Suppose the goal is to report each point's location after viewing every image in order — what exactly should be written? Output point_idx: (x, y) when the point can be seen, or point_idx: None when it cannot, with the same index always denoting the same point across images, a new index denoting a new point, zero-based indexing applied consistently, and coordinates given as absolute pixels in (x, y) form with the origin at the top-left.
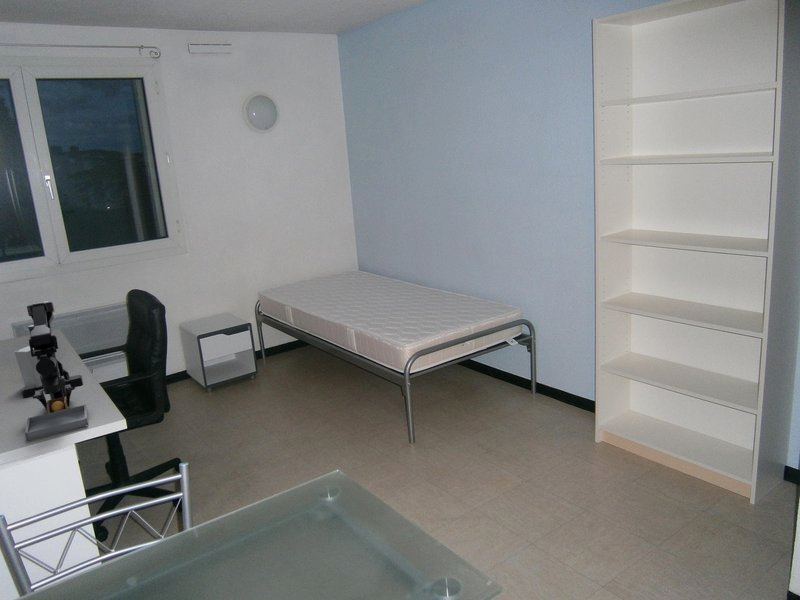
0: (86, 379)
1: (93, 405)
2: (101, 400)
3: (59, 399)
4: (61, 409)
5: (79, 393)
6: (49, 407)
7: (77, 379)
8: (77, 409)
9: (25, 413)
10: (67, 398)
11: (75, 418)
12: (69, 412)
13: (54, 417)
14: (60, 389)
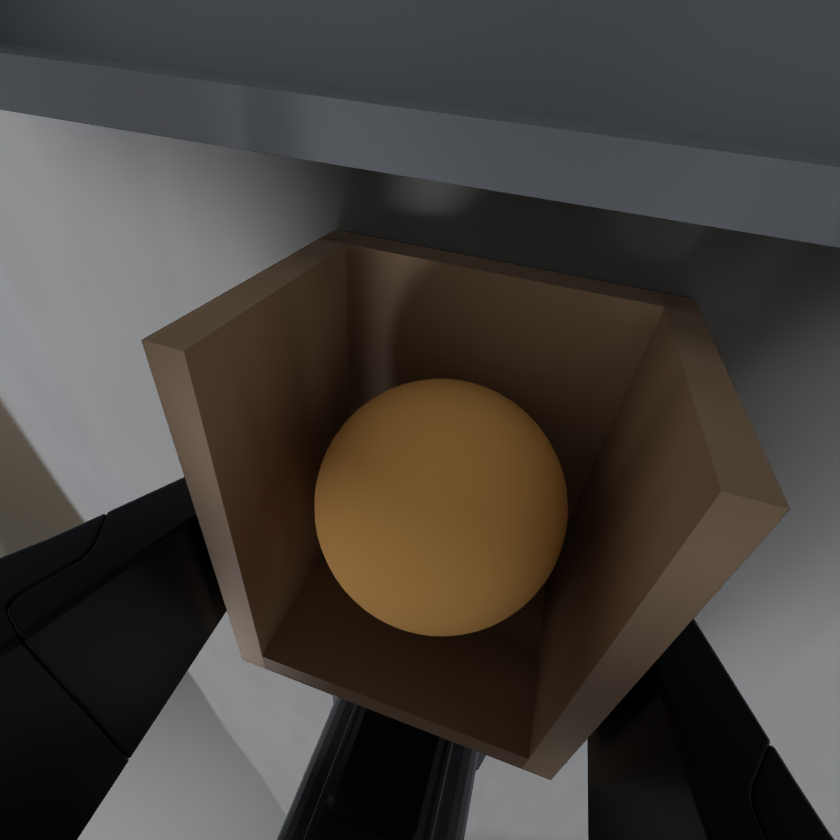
0: (267, 773)
1: (45, 306)
2: (20, 396)
3: (356, 665)
4: (400, 386)
5: (277, 685)
6: (594, 569)
7: None
8: (63, 54)
9: (792, 762)
10: (146, 532)
11: None
12: (254, 81)
13: (637, 100)
14: (321, 838)
